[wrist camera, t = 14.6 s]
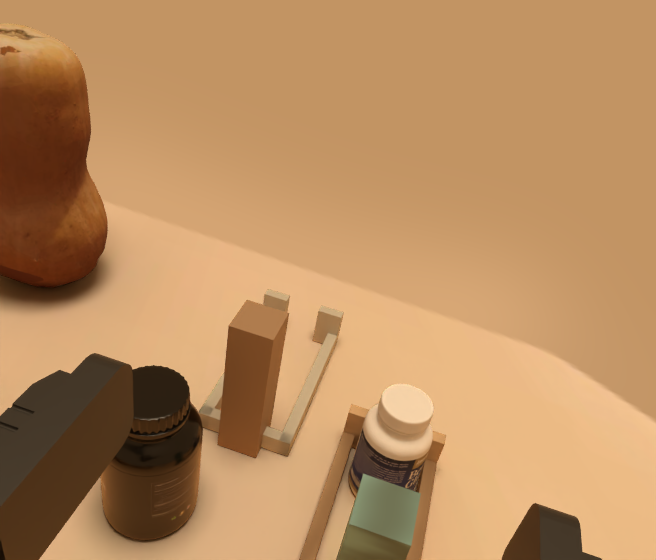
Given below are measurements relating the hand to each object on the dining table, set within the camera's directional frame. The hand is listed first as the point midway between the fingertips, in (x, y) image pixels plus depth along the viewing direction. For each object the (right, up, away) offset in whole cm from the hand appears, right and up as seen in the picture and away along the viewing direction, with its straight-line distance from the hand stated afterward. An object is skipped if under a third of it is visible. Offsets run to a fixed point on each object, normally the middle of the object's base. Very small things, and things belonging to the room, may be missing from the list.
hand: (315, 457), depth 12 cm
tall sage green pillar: (+3, -16, +35) cm, 39 cm away
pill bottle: (+4, -14, +39) cm, 41 cm away
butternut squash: (-30, +4, +53) cm, 62 cm away
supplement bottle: (-13, -13, +34) cm, 39 cm away
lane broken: (-5, -6, +46) cm, 47 cm away
